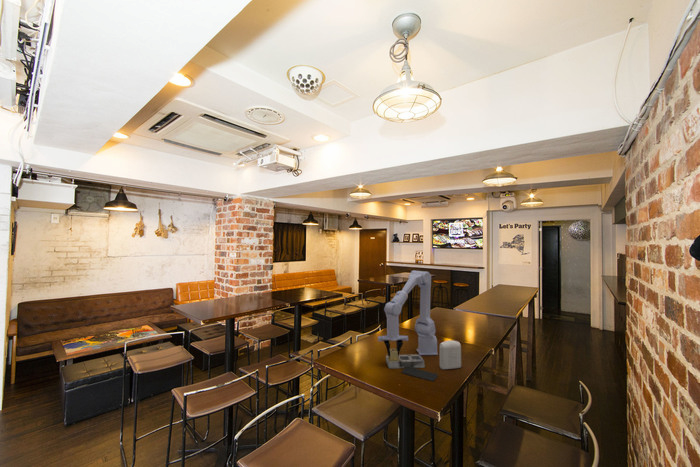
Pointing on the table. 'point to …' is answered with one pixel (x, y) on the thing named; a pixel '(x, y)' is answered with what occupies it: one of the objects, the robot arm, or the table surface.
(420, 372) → the phone
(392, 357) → the tan block with hole
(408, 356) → the slotted metal bracket
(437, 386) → the table surface
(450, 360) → the photo printer
